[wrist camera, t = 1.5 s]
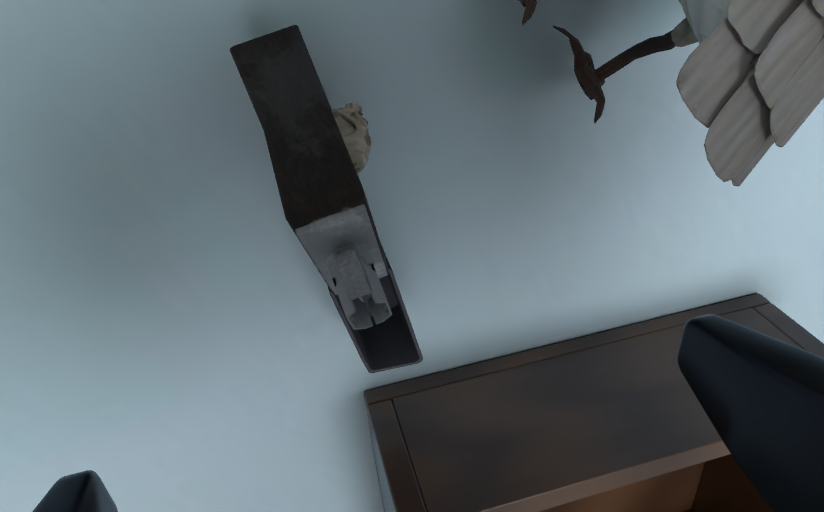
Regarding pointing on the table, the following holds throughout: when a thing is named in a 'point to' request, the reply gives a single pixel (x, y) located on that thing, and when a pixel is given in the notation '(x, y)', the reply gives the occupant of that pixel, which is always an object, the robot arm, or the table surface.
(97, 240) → the table surface
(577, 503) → the caddy
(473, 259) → the table surface
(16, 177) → the table surface
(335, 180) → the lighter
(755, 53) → the decorative bird
